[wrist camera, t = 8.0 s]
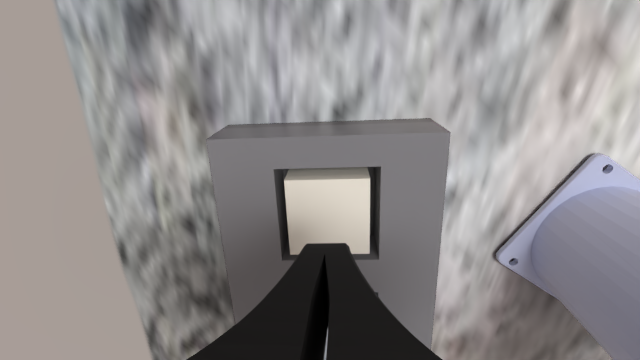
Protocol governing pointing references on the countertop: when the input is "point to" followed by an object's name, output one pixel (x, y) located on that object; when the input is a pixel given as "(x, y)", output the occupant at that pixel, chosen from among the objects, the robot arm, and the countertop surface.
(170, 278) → the countertop surface
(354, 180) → the key cream
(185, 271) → the countertop surface
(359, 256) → the slotted grey tray
